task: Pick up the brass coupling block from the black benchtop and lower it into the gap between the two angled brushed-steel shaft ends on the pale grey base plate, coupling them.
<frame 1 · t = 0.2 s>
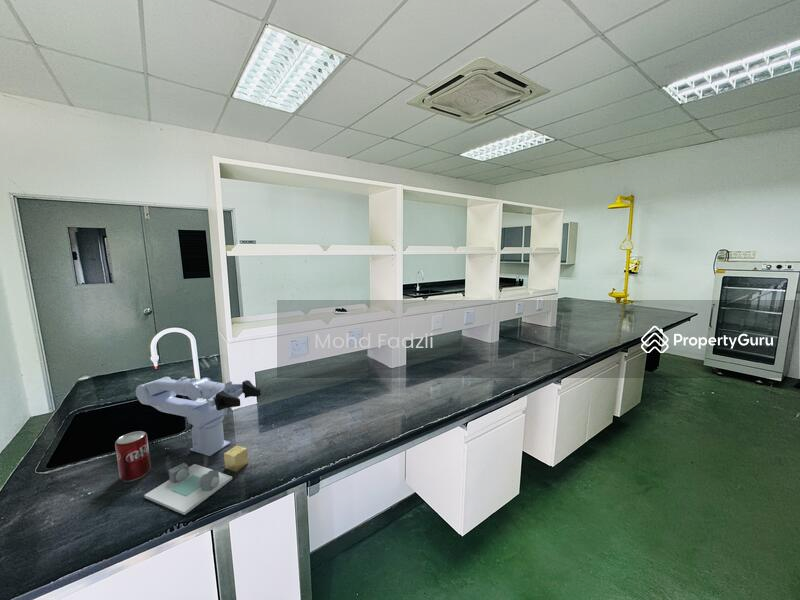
hand: (249, 397, 98), 21 cm above the worktop, tool horizontal, fingers open, 7 cm apart
coupling block: (236, 465, 99), on the worktop
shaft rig: (190, 488, 89), on the worktop
soda can: (136, 475, 95), on the worktop
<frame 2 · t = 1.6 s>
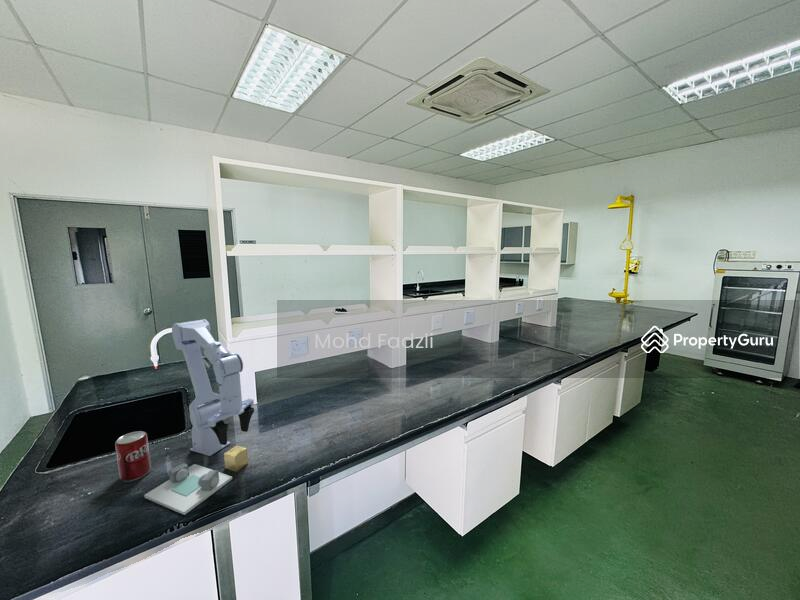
hand: (234, 437, 97), 9 cm above the worktop, tool pointing down, fingers open, 7 cm apart
nothing on the worktop moved.
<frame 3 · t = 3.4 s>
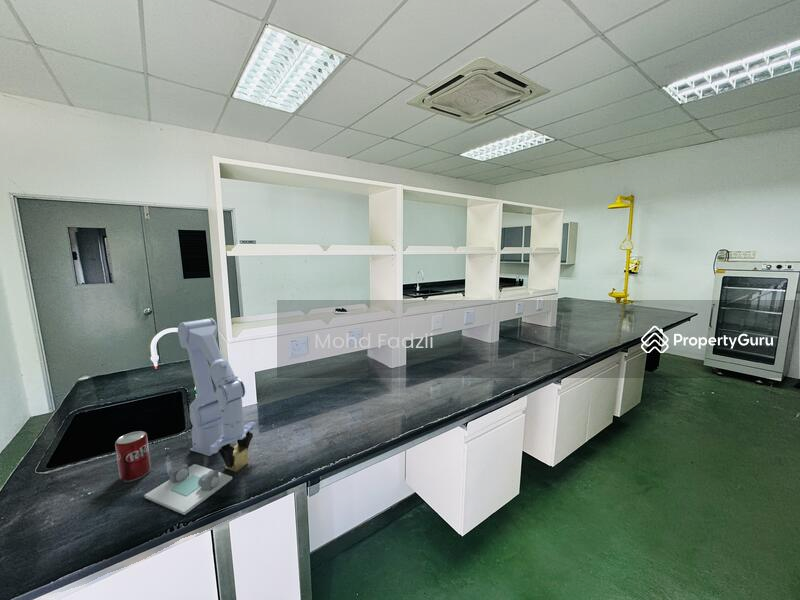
hand: (236, 461, 98), 1 cm above the worktop, tool pointing down, fingers closed on coupling block, 4 cm apart
coupling block: (236, 465, 99), on the worktop, touching gripper
everything else where it was.
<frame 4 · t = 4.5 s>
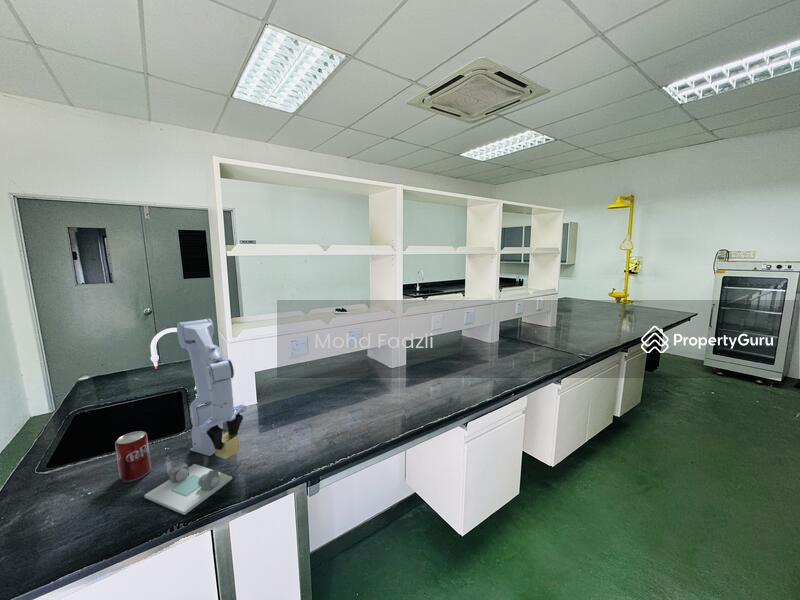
hand: (225, 444, 96), 8 cm above the worktop, tool pointing down, fingers closed on coupling block, 4 cm apart
coupling block: (227, 452, 96), point 6 cm above the worktop, touching gripper
everything else where it was.
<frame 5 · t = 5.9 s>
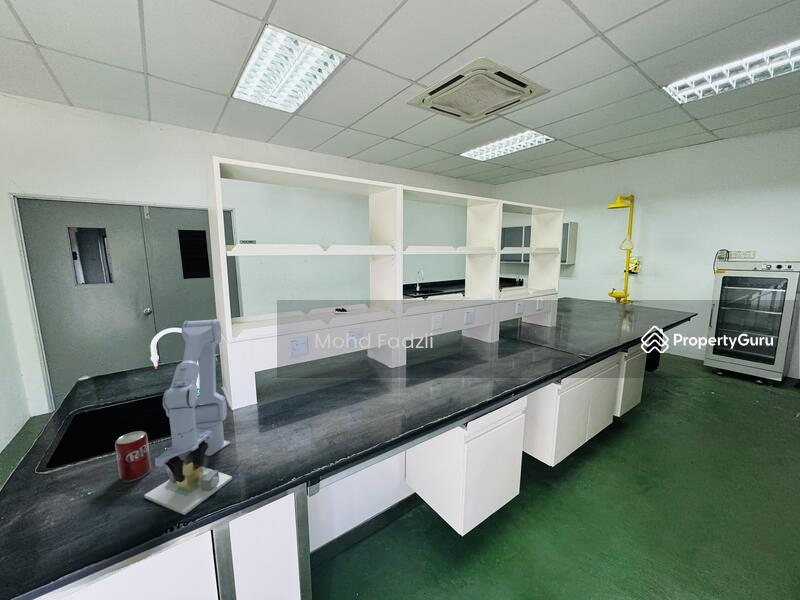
hand: (188, 474, 89), 4 cm above the worktop, tool pointing down, fingers closed on coupling block, 4 cm apart
coupling block: (190, 485, 89), point 1 cm above the worktop, touching gripper, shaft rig
everything else where it was.
when the fingers open (4 cm above the worktop, at t = 6.8 s): coupling block stays where it is, resting on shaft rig.
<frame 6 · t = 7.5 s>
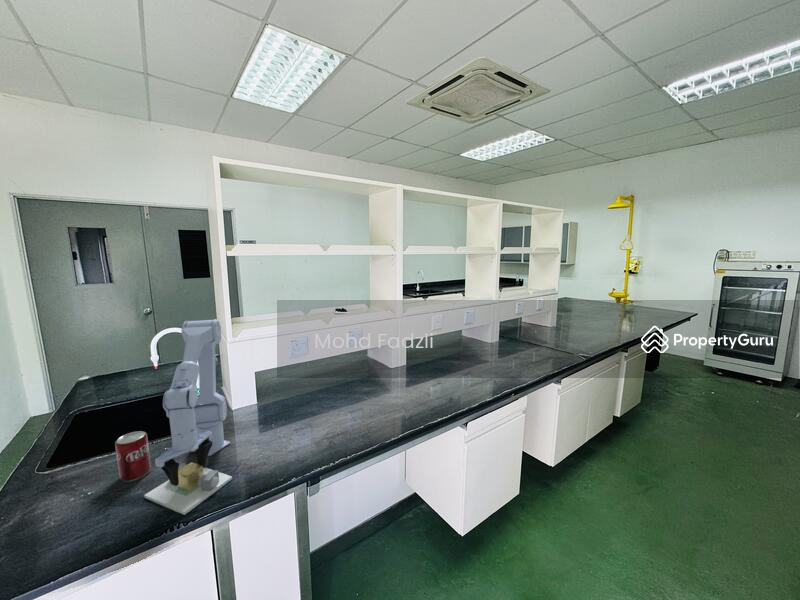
hand: (188, 475, 89), 4 cm above the worktop, tool pointing down, fingers open, 7 cm apart
coupling block: (190, 485, 89), point 1 cm above the worktop, touching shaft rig
everything else where it was.
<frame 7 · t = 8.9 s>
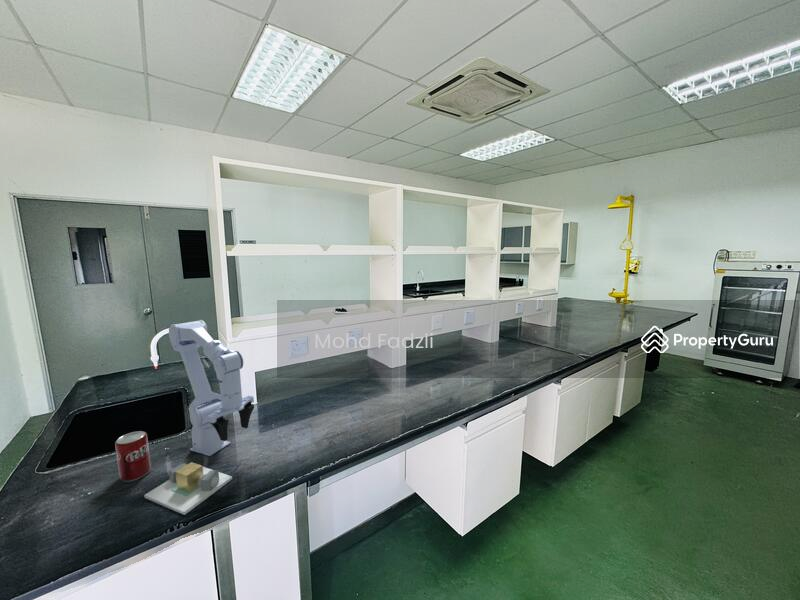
hand: (234, 433, 99), 10 cm above the worktop, tool pointing down, fingers open, 7 cm apart
nothing on the worktop moved.
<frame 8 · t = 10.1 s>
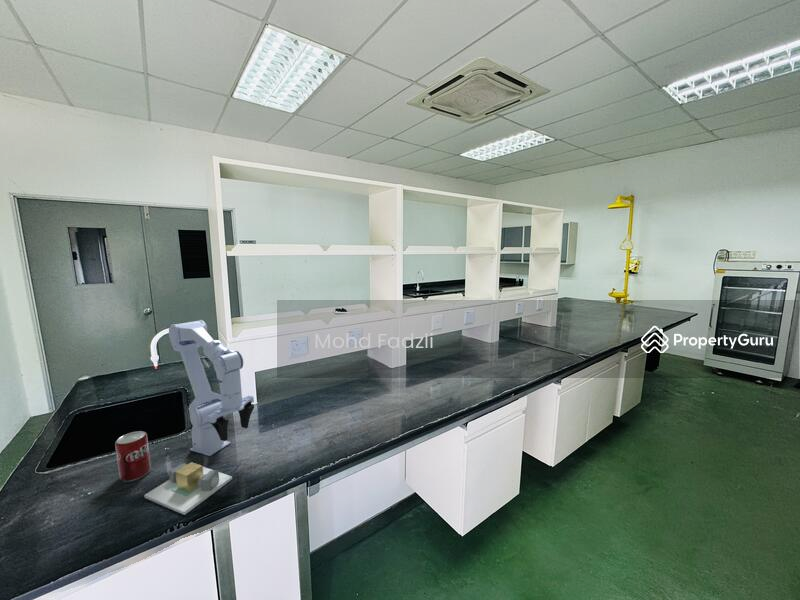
hand: (234, 433, 99), 10 cm above the worktop, tool pointing down, fingers open, 7 cm apart
nothing on the worktop moved.
at the end: coupling block 0.4 cm off-centre on the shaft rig, point 1.0 cm above the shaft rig's base; coupling block tilted 0°; the gripper is holding nothing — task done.
